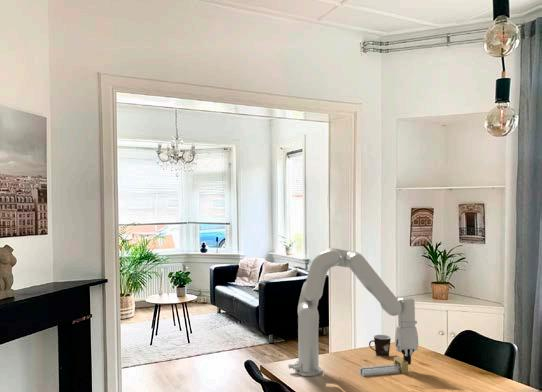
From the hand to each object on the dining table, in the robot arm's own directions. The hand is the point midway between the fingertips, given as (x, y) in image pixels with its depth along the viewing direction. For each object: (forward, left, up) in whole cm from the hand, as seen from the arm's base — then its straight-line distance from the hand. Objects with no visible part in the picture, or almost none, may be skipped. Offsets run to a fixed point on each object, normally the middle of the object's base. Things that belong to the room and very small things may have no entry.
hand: (407, 363), depth 197 cm
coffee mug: (-1, +25, -4) cm, 25 cm away
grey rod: (-13, +1, -3) cm, 13 cm away
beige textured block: (-4, 0, -3) cm, 5 cm away
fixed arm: (-14, -1, -3) cm, 14 cm away
